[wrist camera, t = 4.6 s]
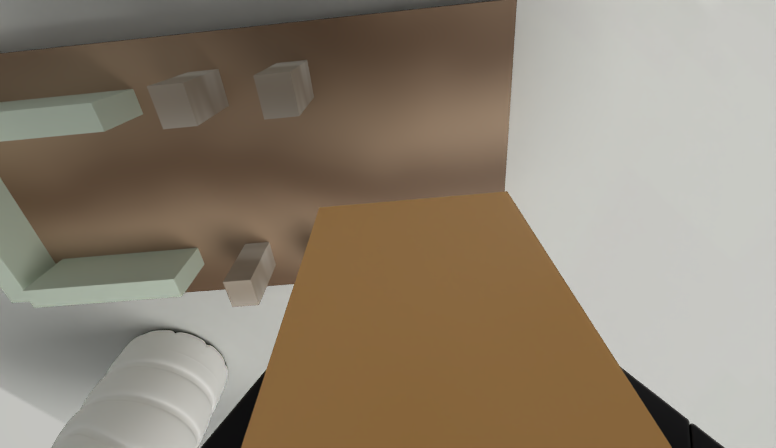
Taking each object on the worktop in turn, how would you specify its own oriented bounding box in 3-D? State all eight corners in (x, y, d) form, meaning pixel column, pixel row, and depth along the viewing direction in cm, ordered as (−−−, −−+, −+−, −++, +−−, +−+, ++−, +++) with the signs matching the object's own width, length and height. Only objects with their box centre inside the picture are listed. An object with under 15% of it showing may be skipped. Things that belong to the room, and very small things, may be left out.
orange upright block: (495, 355, 11) (618, 745, 5) (351, 365, 11) (315, 753, 5) (507, 191, 8) (775, 608, 2) (319, 207, 8) (181, 630, 3)
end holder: (204, 264, 19) (182, 296, 17) (44, 276, 20) (3, 310, 18) (133, 88, 15) (91, 103, 13) (-69, 109, 16) (-143, 126, 13)
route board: (494, 254, 21) (517, 308, 17) (68, 288, 22) (4, 345, 18) (507, -1, 15) (547, -3, 11) (-79, 61, 16) (-218, 79, 12)
